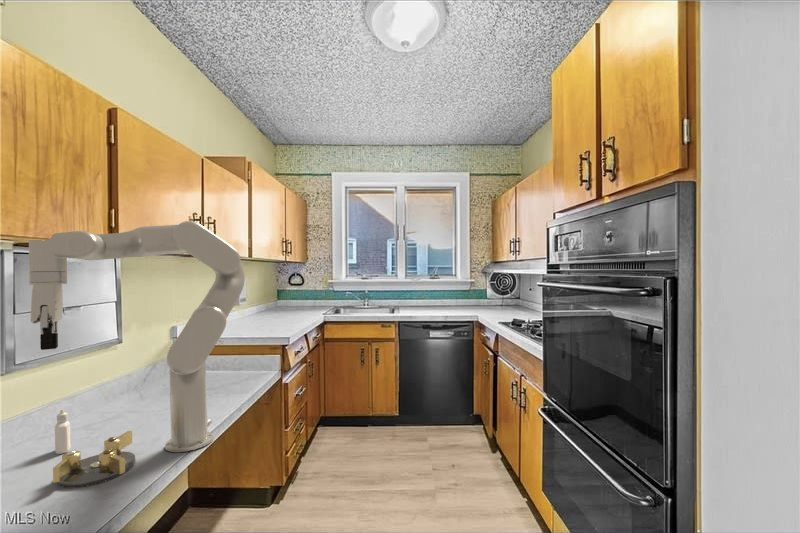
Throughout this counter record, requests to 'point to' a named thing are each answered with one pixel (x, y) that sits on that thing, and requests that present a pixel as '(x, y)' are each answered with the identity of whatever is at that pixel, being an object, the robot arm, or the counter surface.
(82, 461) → the base
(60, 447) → the eye dropper bottle
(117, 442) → the knob
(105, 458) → the knob
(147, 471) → the counter surface
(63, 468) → the knob
